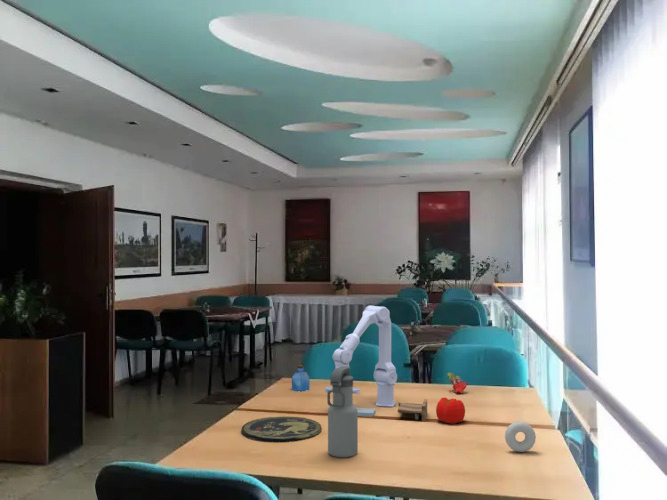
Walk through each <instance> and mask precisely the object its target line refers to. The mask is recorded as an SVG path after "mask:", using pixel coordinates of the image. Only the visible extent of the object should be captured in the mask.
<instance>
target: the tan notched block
mask: <svg viewBox="0 0 667 500" xmlns="http://www.w3.org/2000/svg"><path fill="white" fill-rule="evenodd" d="M397 412H398V414H407V415H408V414H410V415H411V414H413V415H414V420H416V421H417V420H418V421H419V420H420V416H421V422H426V420H427V416H428V399H424V398H423V402H422V403H414V402H413V403H408V402H398V408H397Z"/></svg>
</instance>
